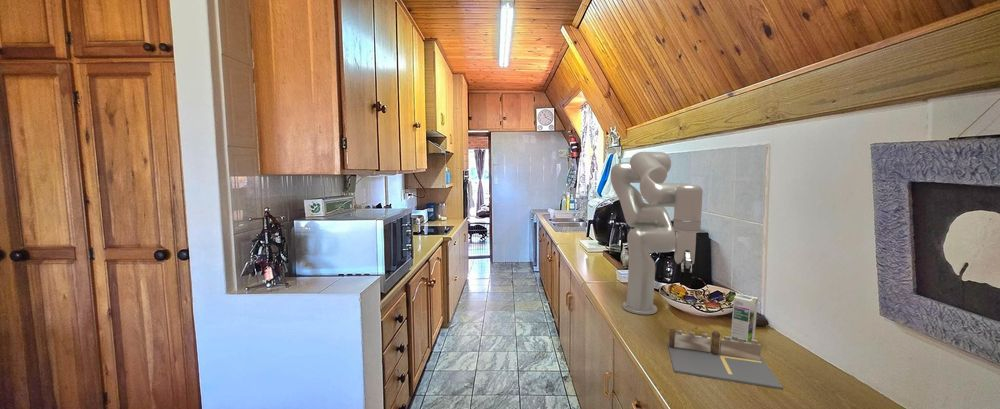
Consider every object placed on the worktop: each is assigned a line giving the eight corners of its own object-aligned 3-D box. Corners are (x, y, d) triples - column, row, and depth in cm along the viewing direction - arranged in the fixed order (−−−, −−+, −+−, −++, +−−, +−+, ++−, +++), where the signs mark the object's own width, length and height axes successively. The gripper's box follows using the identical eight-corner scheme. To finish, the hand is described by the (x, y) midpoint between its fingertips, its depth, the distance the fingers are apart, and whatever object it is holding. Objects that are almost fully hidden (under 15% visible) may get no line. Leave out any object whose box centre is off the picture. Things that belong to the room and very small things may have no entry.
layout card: (666, 342, 122) (667, 340, 122) (758, 355, 115) (759, 353, 115) (674, 372, 105) (674, 369, 105) (782, 389, 98) (782, 387, 98)
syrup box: (729, 341, 124) (733, 296, 122) (734, 335, 128) (737, 292, 126) (750, 347, 120) (754, 301, 118) (754, 340, 124) (758, 296, 122)
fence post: (709, 352, 116) (711, 329, 115) (757, 359, 112) (760, 335, 111) (711, 356, 114) (712, 332, 113) (760, 363, 110) (762, 338, 109)
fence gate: (708, 349, 116) (710, 333, 115) (709, 352, 114) (711, 335, 114) (668, 344, 119) (669, 328, 118) (669, 346, 117) (670, 330, 117)
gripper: (671, 221, 128) (668, 272, 129) (675, 228, 112) (672, 287, 113) (696, 222, 125) (694, 275, 127) (704, 230, 109) (701, 290, 111)
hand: (683, 280), depth 120 cm, fingers open, 9 cm apart
